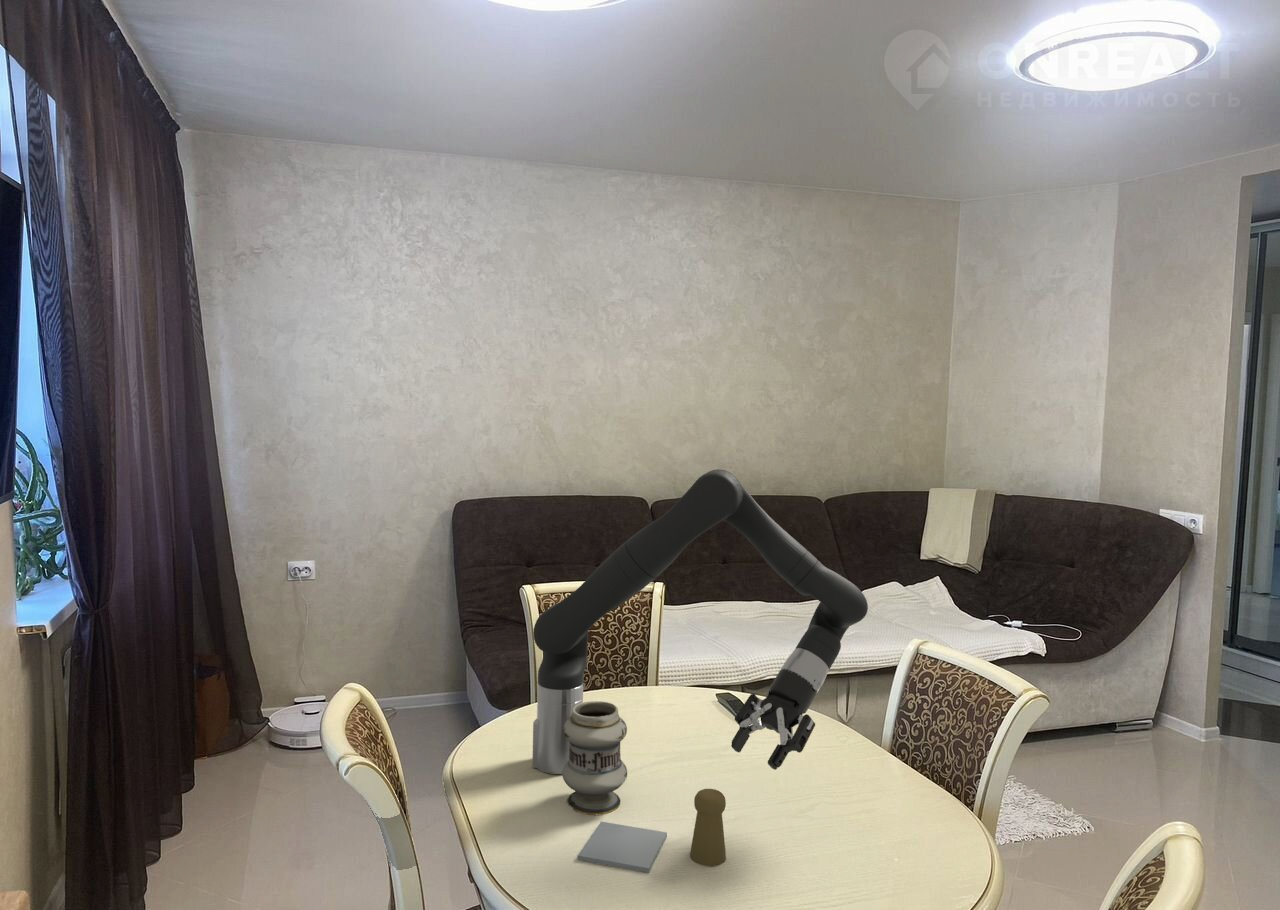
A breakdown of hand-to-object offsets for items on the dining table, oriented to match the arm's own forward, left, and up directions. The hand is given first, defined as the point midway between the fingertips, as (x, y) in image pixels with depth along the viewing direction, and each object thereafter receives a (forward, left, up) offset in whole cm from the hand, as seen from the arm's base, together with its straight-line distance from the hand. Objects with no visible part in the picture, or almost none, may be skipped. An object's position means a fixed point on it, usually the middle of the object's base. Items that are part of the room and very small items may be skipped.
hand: (752, 758), depth 150 cm
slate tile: (-20, -10, -14) cm, 26 cm away
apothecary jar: (-30, +4, -14) cm, 33 cm away
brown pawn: (-6, -8, -14) cm, 18 cm away
